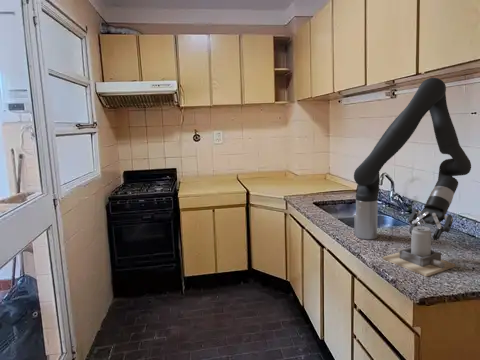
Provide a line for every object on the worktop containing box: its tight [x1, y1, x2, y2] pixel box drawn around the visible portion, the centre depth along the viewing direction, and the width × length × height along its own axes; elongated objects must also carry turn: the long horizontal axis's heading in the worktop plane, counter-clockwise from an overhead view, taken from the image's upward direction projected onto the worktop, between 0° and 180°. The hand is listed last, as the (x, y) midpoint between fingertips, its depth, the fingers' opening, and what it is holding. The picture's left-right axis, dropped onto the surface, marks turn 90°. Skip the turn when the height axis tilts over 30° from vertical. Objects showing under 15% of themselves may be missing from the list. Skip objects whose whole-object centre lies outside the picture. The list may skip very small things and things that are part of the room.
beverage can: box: [410, 225, 432, 257], centre depth 127 cm, size 6×6×12 cm
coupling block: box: [382, 247, 456, 277], centre depth 128 cm, size 18×15×4 cm
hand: (422, 236), depth 128 cm, fingers open, 8 cm apart
